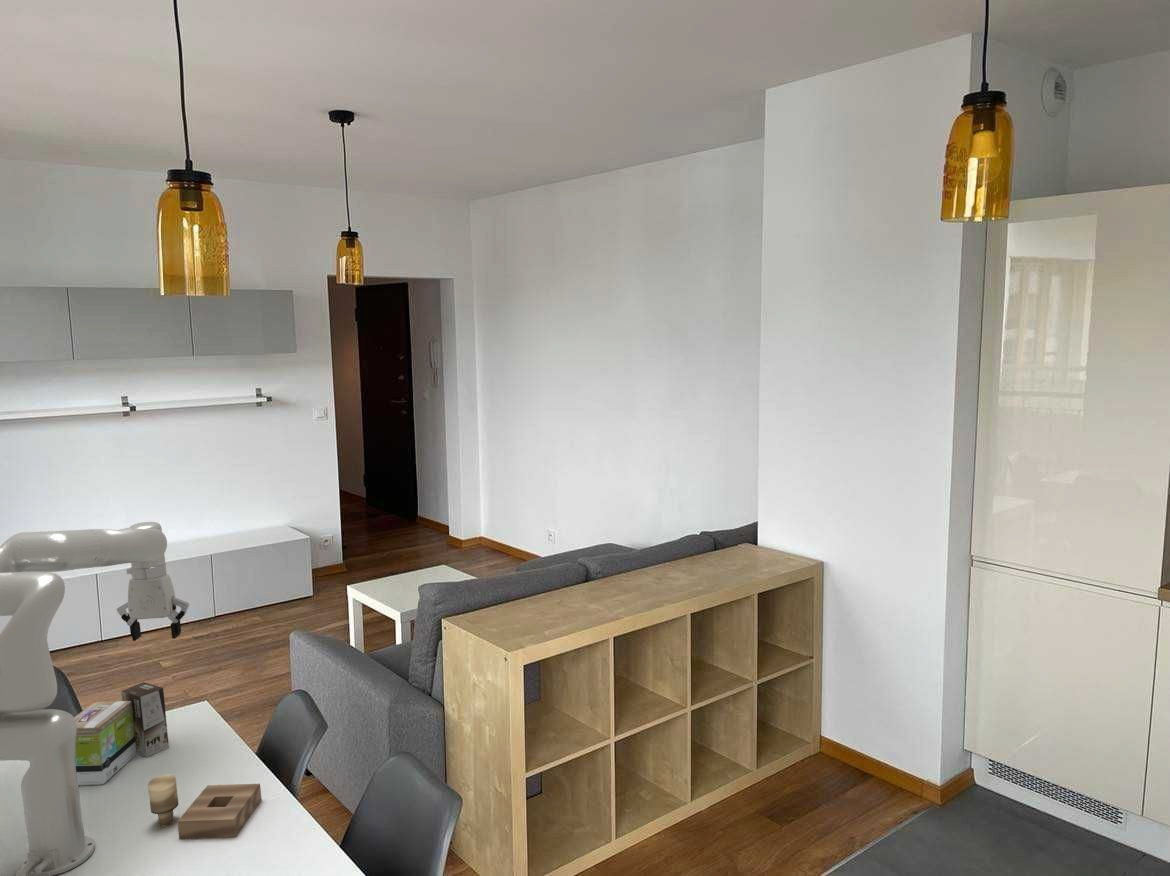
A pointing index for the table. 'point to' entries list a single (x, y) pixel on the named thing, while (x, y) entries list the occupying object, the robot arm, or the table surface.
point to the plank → (219, 811)
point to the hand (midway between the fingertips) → (156, 637)
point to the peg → (163, 798)
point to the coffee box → (148, 717)
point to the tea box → (103, 741)
